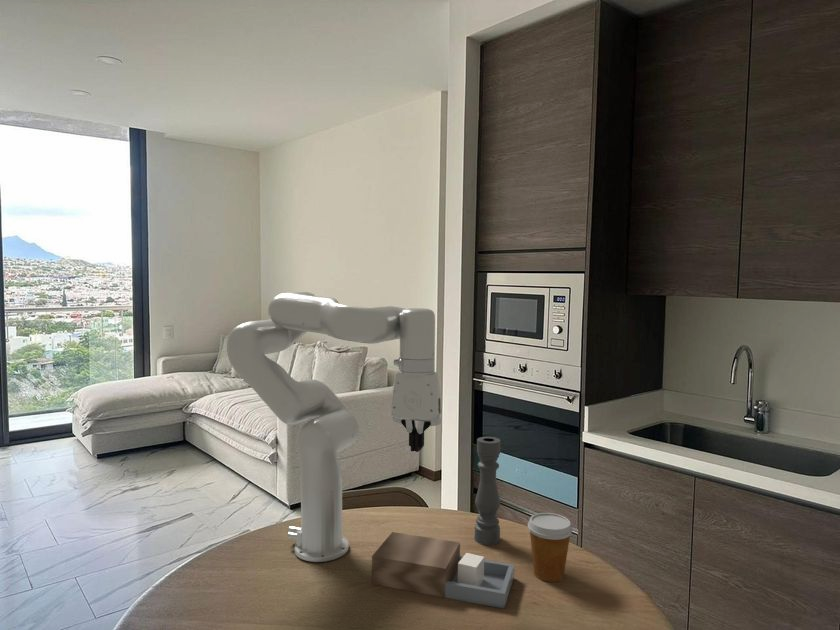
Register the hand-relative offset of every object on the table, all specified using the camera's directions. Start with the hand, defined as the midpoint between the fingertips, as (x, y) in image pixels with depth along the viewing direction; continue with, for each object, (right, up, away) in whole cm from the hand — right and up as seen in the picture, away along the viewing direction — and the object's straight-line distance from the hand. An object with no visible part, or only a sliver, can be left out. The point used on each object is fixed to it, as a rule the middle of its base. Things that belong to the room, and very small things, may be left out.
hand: (416, 449), depth 123 cm
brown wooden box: (0, -27, 0) cm, 27 cm away
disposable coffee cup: (+29, -28, +1) cm, 40 cm away
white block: (+10, -24, -3) cm, 26 cm away
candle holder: (+17, -26, +17) cm, 36 cm away
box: (+13, -28, -5) cm, 31 cm away
